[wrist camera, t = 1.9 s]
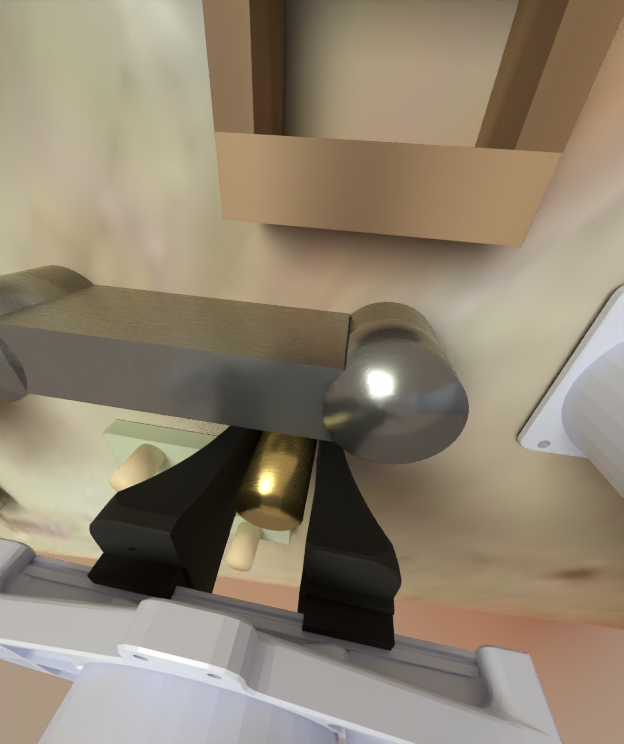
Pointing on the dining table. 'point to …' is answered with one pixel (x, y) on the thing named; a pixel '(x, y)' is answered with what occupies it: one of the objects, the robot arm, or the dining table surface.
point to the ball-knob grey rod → (234, 363)
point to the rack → (164, 450)
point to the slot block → (402, 160)
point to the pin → (276, 482)
